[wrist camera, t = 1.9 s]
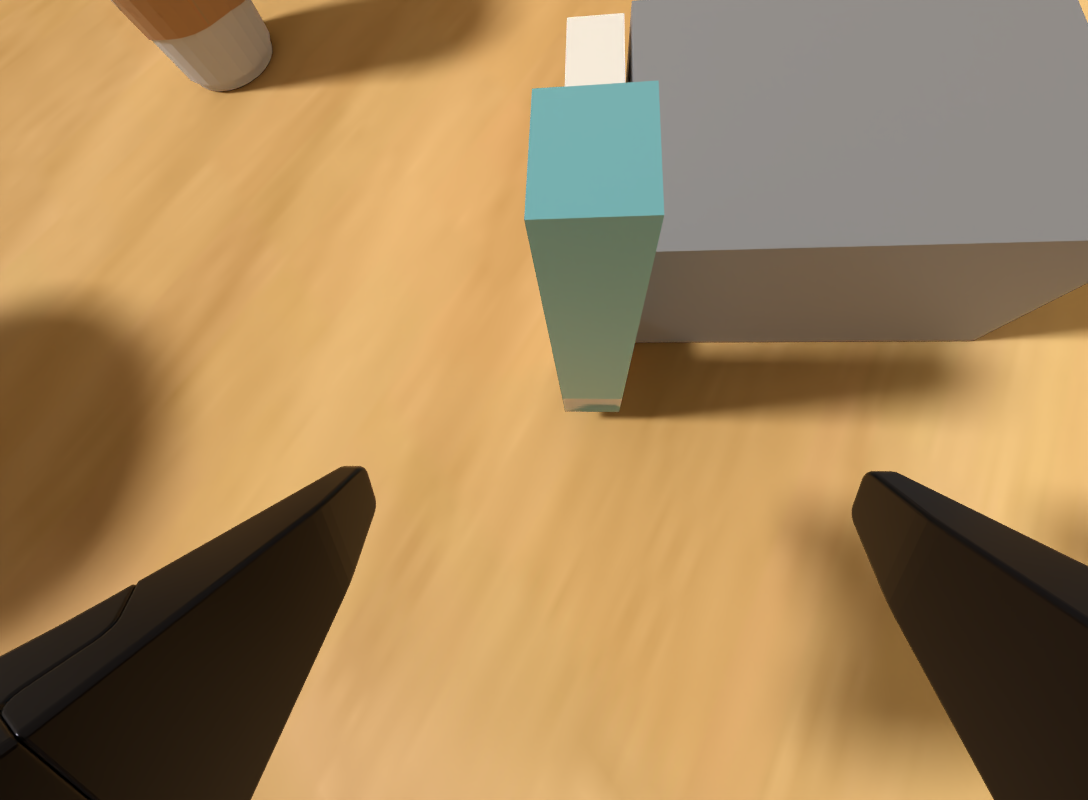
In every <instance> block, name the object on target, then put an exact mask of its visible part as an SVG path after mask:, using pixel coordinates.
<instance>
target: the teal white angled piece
mask: <svg viewBox="0 0 1088 800" xmlns="http://www.w3.org/2000/svg"><path fill="white" fill-rule="evenodd" d="M663 219H664V195H663V172H662V148H661V125H660V102H659V80H658V81H643V82H627V83H625V32H624V13H619V14H607V15H594V16H582V17H570V18H567V36H566V66H565V87H551V88H536V89H532V100H531V117H530V134H529V150H528V167H527V184H526V201H525V217H524V221H525V225H526V230H527V235H528V239H529V244H530V249H531V253H532V258H533V263H534V267H535V272H536V277H537V281H538V286H539V291H540V296H541V300H542V305H543V310H544V314H545V319H546V324H547V328H548V333H549V338H550V342H551V347H552V352H553V356H554V361H555V366H556V370H557V375H558V380H559V385H560V389H561V394H562V399H563V403H564V408H565V411H581V412H619V410H620V406H621V402H622V397H623V393H624V388H625V384H626V380H627V375H628V371H629V367H630V362H631V358H632V354H633V349H634V345H635V341H636V336H637V332H638V328H639V323H640V319H641V314H642V310H643V306H644V301H645V297H646V293H647V288H648V284H649V280H650V275H651V271H652V267H653V262H654V258H655V254H656V249H657V245H658V241H659V236H660V232H661V227H662V223H663Z"/></svg>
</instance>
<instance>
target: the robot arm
mask: <svg viewBox="0 0 1088 800" xmlns="http://www.w3.org/2000/svg"><path fill="white" fill-rule="evenodd" d="M375 508H376V500H375V496H374V492H373V489H372V486H371V483H370V479H369V476H368V473H367V471H366V469H365V468H364V467H361V466H343V467H340V468H338V469H336V470H334V471H333V472H331V473H329V474H327V475H326V476H324V477H322V478H320V479H319V480H317V481H315V482H313V483H311V484H310V485H308V486H306V487H304V488H303V489H301V490H299V491H297V492H296V493H294V494H292V495H290V496H288V497H287V498H285V499H283V500H281V501H280V502H278V503H276V504H274V505H273V506H271V507H269V508H267V509H266V510H264V511H262V512H260V513H258V514H257V515H255V516H253V517H251V518H250V519H248V520H246V521H244V522H243V523H241V524H239V525H237V526H235V527H234V528H232V529H230V530H228V531H227V532H225V533H223V534H221V535H220V536H218V537H216V538H214V539H212V540H211V541H209V542H207V543H205V544H204V545H202V546H200V547H198V548H197V549H195V550H193V551H191V552H190V553H188V554H186V555H184V556H182V557H181V558H179V559H177V560H175V561H174V562H172V563H170V564H168V565H167V566H165V567H163V568H161V569H159V570H158V571H156V572H154V573H152V574H151V575H149V576H147V577H145V578H144V579H142V580H140V581H139V582H138V583H137V585H131V586H129V587H127V588H126V589H124V590H122V591H120V592H119V593H117V594H115V595H113V596H112V597H110V598H108V599H106V600H105V601H103V602H101V603H99V604H97V605H95V606H94V607H92V608H90V609H88V610H86V611H85V612H83V613H81V614H79V615H77V616H76V617H74V618H72V619H70V620H68V621H66V622H65V623H63V624H61V625H59V626H57V627H55V628H53V629H52V630H50V631H48V632H46V633H44V634H42V635H40V636H38V637H36V638H34V639H32V640H31V641H29V642H27V643H25V644H23V645H21V646H19V647H17V648H15V649H13V650H11V651H9V652H8V653H6V654H4V655H2V656H0V800H251V798H252V796H253V794H254V791H255V789H256V787H257V785H258V783H259V781H260V778H261V776H262V774H263V772H264V770H265V768H266V765H267V763H268V761H269V759H270V757H271V755H272V752H273V750H274V748H275V746H276V744H277V742H278V739H279V737H280V735H281V733H282V731H283V729H284V726H285V724H286V722H287V720H288V718H289V716H290V713H291V711H292V709H293V707H294V705H295V703H296V700H297V698H298V696H299V694H300V692H301V690H302V687H303V685H304V683H305V681H306V679H307V677H308V674H309V672H310V670H311V668H312V666H313V664H314V661H315V659H316V657H317V655H318V653H319V651H320V648H321V646H322V644H323V642H324V640H325V638H326V635H327V633H328V631H329V629H330V627H331V625H332V622H333V620H334V618H335V616H336V614H337V612H338V609H339V607H340V605H341V603H342V601H343V599H344V596H345V594H346V592H347V589H348V587H349V585H350V582H351V580H352V577H353V574H354V572H355V569H356V566H357V563H358V560H359V557H360V554H361V551H362V548H363V545H364V542H365V539H366V536H367V533H368V530H369V528H370V525H371V522H372V519H373V516H374V513H375ZM852 519H853V522H854V525H855V527H856V530H857V532H858V535H859V537H860V539H861V542H862V544H863V547H864V549H865V552H866V554H867V556H868V559H869V561H870V564H871V566H872V568H873V571H874V573H875V576H876V578H877V580H878V583H879V585H880V588H881V590H882V592H883V594H884V597H885V599H886V601H887V603H888V605H889V607H890V609H891V611H892V613H893V615H894V617H895V619H896V621H897V623H898V624H899V626H900V628H901V630H902V632H903V634H904V635H905V637H906V639H907V641H908V643H909V645H910V647H911V648H912V650H913V652H914V654H915V656H916V658H917V659H918V661H919V663H920V665H921V667H922V669H923V670H924V672H925V674H926V676H927V678H928V680H929V681H930V683H931V685H932V687H933V689H934V691H935V692H936V694H937V696H938V698H939V700H940V702H941V703H942V705H943V707H944V709H945V711H946V713H947V715H948V716H949V718H950V720H951V722H952V724H953V726H954V727H955V729H956V731H957V733H958V735H959V737H960V738H961V740H962V742H963V744H964V746H965V748H966V749H967V751H968V753H969V755H970V757H971V759H972V760H973V762H974V764H975V766H976V768H977V770H978V771H979V773H980V775H981V777H982V779H983V781H984V783H985V784H986V786H987V788H988V790H989V792H990V794H991V795H992V797H993V799H994V800H1088V566H1086V565H1084V564H1082V563H1080V562H1078V561H1076V560H1074V559H1072V558H1070V557H1068V556H1066V555H1064V554H1062V553H1060V552H1058V551H1056V550H1054V549H1052V548H1050V547H1048V546H1046V545H1044V544H1042V543H1040V542H1038V541H1035V540H1033V539H1031V538H1029V537H1027V536H1025V535H1023V534H1021V533H1019V532H1017V531H1015V530H1013V529H1011V528H1009V527H1007V526H1005V525H1003V524H1001V523H999V522H997V521H995V520H993V519H991V518H989V517H987V516H985V515H983V514H981V513H978V512H976V511H974V510H972V509H970V508H968V507H966V506H964V505H962V504H960V503H958V502H956V501H954V500H952V499H950V498H948V497H946V496H944V495H942V494H940V493H938V492H936V491H934V490H932V489H930V488H928V487H926V486H923V485H921V484H919V483H917V482H915V481H913V480H911V479H909V478H907V477H905V476H903V475H901V474H899V473H897V472H891V471H871V472H868V473H866V474H865V475H864V477H863V479H862V481H861V484H860V487H859V490H858V492H857V495H856V498H855V501H854V504H853V507H852Z"/></svg>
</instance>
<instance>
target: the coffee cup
mask: <svg viewBox="0 0 1088 800" xmlns="http://www.w3.org/2000/svg"><path fill="white" fill-rule="evenodd" d="M111 1H112V2H113V3H114V4H115V5H116V6H117V7H118V8H119V9H120V10H121V11H122V12H123V13H124V14H125V15H126V16H127V17H128V19H129V20H130V21H131V22H132V23H133V24H134V25H135V26H136V27H137V28H138V29H139V30H140V31H141V32H142V33H143V34H144V35H145V36H146V37H147V38H148V39H149V40H152V41H153V42H154V43H155V44H156V45H157V46H158V47H159V48H160V49H161V50H162V51H163V52H164V53H165V54H166V55H167V56H168V57H169V58H170V59H171V60H172V61H173V63H174V64H175V65H176V66H177V67H178V68H179V69H180V70H181V71H182V72H183V73H184V74H185V75H186V76H187V77H188V78H189V79H190V80H191V81H193V82H195V83H198V84H200V85H201V86H202V87H204V88H206V89H209V90H213V91H228V90H232V89H236V88H239V87H241V86H243V85H245V84H248V83H250V82H251V81H252V80H254V79H255V78H256V77H258V76H259V75H260V74H261V73H262V72H263V70H264V69H265V68H266V67H267V65H268V63H269V61H270V59H271V55H272V44H271V42H270V34H269V31H268V29H267V27H266V25H265V23H264V22H263V20H262V18H261V16H260V15H259V13H258V11H257V9H256V8H255V6H254V4H253V2H252V1H251V0H111Z"/></svg>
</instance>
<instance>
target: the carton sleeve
mask: <svg viewBox="0 0 1088 800" xmlns="http://www.w3.org/2000/svg"><path fill="white" fill-rule="evenodd" d="M658 80H659V102H660V125H661V148H662V172H663V195H664V219H663V223H662V227H661V232H660V236H659V241H658V245H657V249H656V254H655V258H654V262H653V267H652V271H651V275H650V280H649V284H648V288H647V293H646V297H645V301H644V306H643V310H642V314H641V319H640V323H639V328H638V332H637V336H636V341H635V342H833V341H973V340H975V339H977V338H979V337H981V336H983V335H985V334H987V333H989V332H991V331H993V330H995V329H997V328H999V327H1001V326H1003V325H1005V324H1007V323H1009V322H1011V321H1013V320H1015V319H1017V318H1019V317H1021V316H1023V315H1025V314H1027V313H1029V312H1031V311H1033V310H1035V309H1037V308H1039V307H1041V306H1043V305H1045V304H1047V303H1049V302H1051V301H1053V300H1055V299H1057V298H1059V297H1061V296H1063V295H1065V294H1067V293H1069V292H1071V291H1073V290H1075V289H1077V288H1079V287H1081V286H1083V285H1085V284H1087V283H1088V23H1087V21H1086V18H1085V16H1084V13H1083V11H1082V8H1081V6H1080V4H1079V1H1078V0H638V1H632V7H631V20H630V34H629V47H628V60H627V73H626V83H627V82H643V81H658Z"/></svg>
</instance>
